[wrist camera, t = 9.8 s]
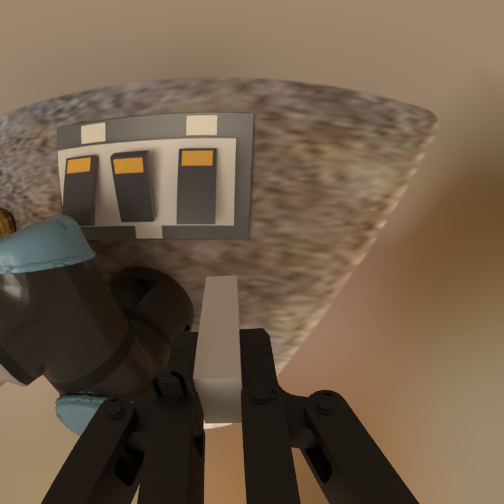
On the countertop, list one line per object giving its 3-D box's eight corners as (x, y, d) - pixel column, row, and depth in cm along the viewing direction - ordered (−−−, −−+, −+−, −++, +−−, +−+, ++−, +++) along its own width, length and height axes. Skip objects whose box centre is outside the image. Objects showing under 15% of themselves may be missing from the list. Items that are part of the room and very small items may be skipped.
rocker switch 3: (178, 224, 31) (176, 224, 29) (180, 151, 30) (178, 148, 28) (215, 224, 31) (215, 224, 30) (217, 150, 30) (216, 147, 29)
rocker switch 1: (67, 226, 29) (61, 226, 28) (71, 160, 29) (65, 158, 27) (94, 225, 30) (89, 225, 28) (98, 157, 29) (93, 154, 28)
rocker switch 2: (124, 216, 32) (121, 222, 31) (113, 152, 27) (109, 157, 26) (156, 216, 32) (153, 222, 31) (148, 150, 27) (145, 154, 26)
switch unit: (72, 236, 37) (55, 251, 32) (62, 128, 31) (41, 130, 26) (247, 235, 39) (250, 252, 34) (252, 114, 33) (256, 111, 28)
